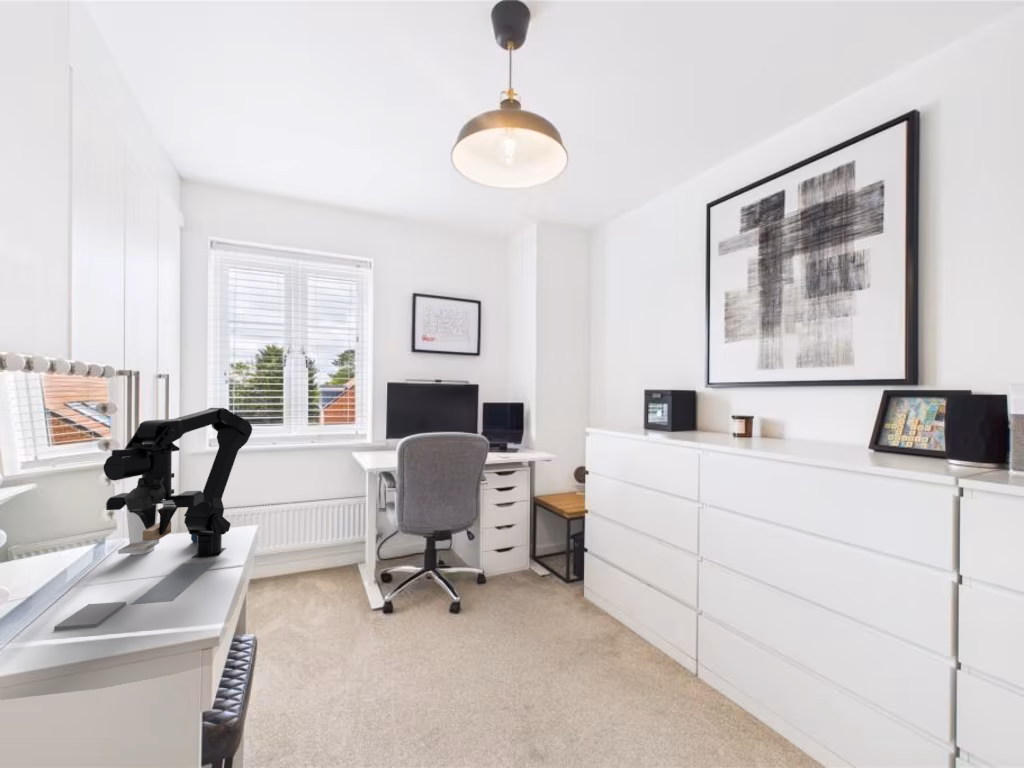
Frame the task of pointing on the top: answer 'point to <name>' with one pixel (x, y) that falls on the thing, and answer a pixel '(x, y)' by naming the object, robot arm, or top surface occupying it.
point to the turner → (146, 540)
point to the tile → (90, 616)
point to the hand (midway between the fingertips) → (156, 534)
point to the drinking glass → (137, 528)
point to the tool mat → (174, 583)
